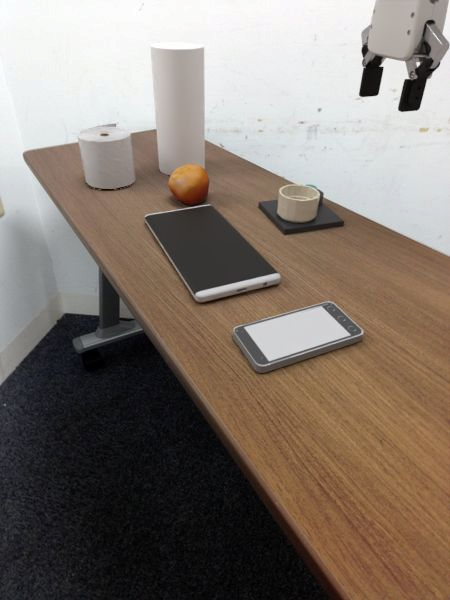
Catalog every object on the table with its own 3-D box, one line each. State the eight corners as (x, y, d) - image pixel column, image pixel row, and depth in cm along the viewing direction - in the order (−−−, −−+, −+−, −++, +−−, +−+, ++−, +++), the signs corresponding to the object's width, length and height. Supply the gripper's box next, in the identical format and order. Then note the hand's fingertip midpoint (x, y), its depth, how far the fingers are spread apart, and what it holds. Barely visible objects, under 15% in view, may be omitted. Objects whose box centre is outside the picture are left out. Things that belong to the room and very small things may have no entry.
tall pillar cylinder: (170, 179, 94) (162, 49, 79) (152, 164, 102) (142, 43, 87) (212, 172, 98) (213, 47, 83) (192, 158, 106) (190, 41, 91)
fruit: (225, 193, 85) (207, 163, 79) (196, 220, 84) (176, 192, 78) (203, 180, 90) (185, 151, 84) (176, 205, 89) (156, 178, 83)
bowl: (304, 205, 82) (307, 182, 80) (323, 221, 77) (327, 197, 74) (270, 209, 80) (272, 186, 78) (287, 226, 75) (290, 202, 72)
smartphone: (366, 333, 52) (258, 368, 47) (364, 339, 53) (258, 374, 48) (331, 300, 58) (230, 328, 52) (329, 306, 58) (230, 334, 53)
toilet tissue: (94, 194, 87) (85, 144, 81) (78, 175, 95) (69, 128, 89) (143, 185, 91) (138, 137, 85) (124, 167, 99) (118, 122, 93)
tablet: (197, 306, 58) (196, 296, 57) (143, 222, 77) (142, 213, 76) (282, 285, 62) (283, 275, 61) (211, 211, 82) (211, 202, 81)
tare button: (311, 191, 84) (312, 183, 83) (318, 196, 82) (319, 188, 81) (299, 192, 83) (300, 185, 82) (306, 197, 81) (307, 190, 81)
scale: (312, 199, 87) (315, 186, 85) (344, 226, 78) (347, 211, 76) (257, 207, 84) (258, 192, 82) (284, 235, 75) (286, 219, 73)
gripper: (499, -51, 47) (449, 115, 57) (400, -44, 60) (375, 89, 70) (442, -52, 45) (402, 119, 55) (353, -44, 58) (334, 93, 68)
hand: (387, 103), depth 63 cm, fingers open, 9 cm apart
